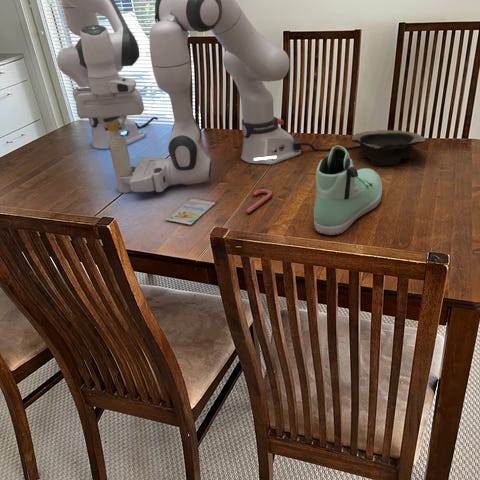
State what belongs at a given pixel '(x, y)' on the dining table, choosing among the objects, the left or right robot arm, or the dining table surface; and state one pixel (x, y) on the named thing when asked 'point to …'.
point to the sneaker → (343, 192)
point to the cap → (113, 125)
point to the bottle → (120, 159)
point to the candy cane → (261, 201)
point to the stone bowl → (387, 145)
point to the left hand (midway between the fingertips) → (114, 130)
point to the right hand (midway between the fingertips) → (121, 175)
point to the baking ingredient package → (190, 211)
